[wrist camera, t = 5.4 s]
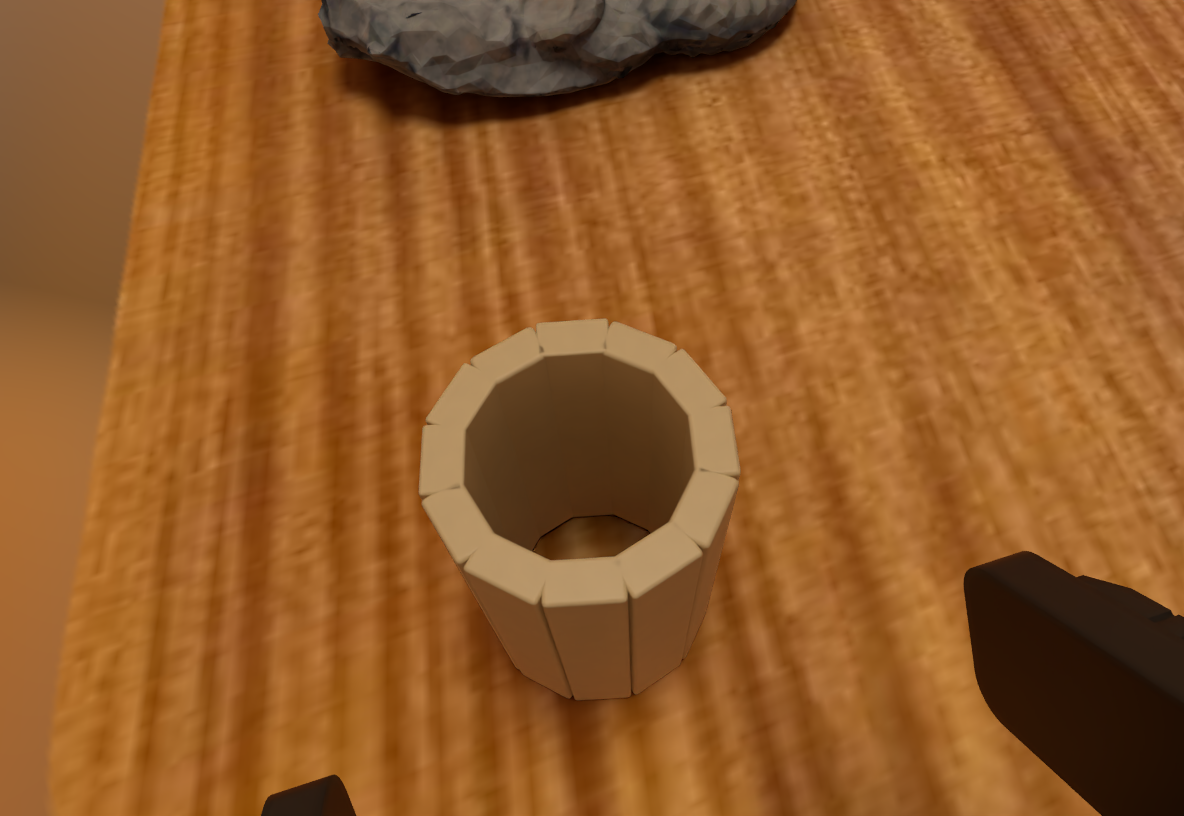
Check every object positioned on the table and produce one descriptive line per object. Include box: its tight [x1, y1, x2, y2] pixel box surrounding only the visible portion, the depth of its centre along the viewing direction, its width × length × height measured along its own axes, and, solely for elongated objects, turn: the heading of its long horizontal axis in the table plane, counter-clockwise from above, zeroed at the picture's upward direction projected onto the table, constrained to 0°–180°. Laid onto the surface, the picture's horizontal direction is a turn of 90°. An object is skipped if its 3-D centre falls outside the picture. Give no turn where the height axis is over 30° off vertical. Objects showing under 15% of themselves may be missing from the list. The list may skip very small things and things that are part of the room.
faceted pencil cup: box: [419, 319, 741, 700], centre depth 18 cm, size 6×6×8 cm
